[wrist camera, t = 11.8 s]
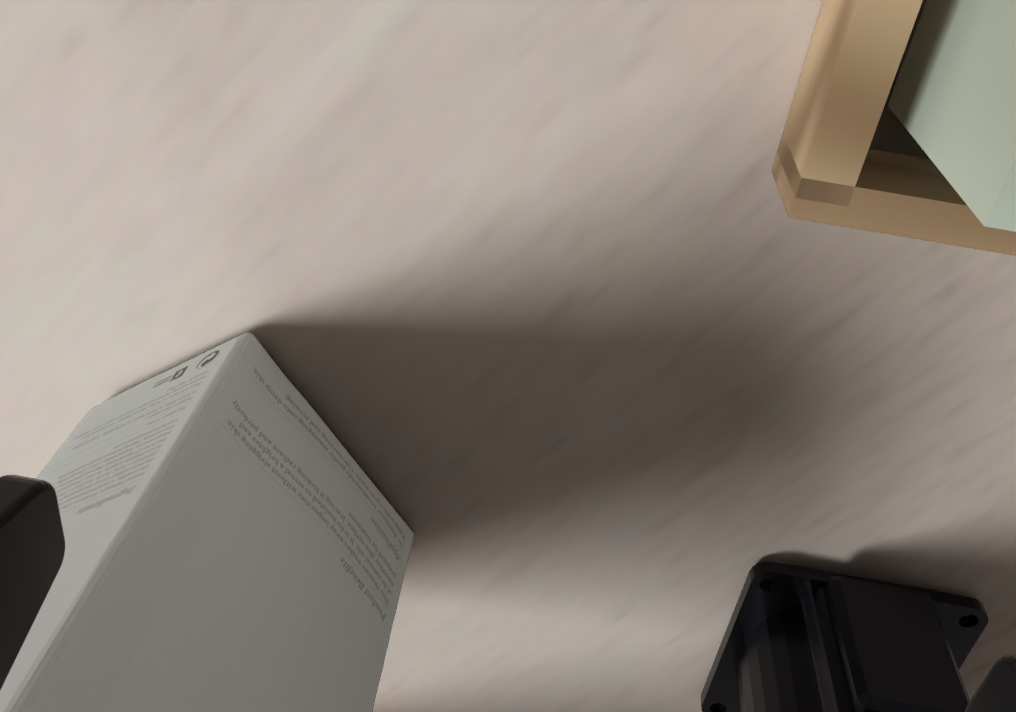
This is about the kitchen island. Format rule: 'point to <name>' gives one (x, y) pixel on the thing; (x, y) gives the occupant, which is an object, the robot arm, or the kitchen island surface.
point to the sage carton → (965, 101)
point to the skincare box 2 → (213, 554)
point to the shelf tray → (866, 137)
